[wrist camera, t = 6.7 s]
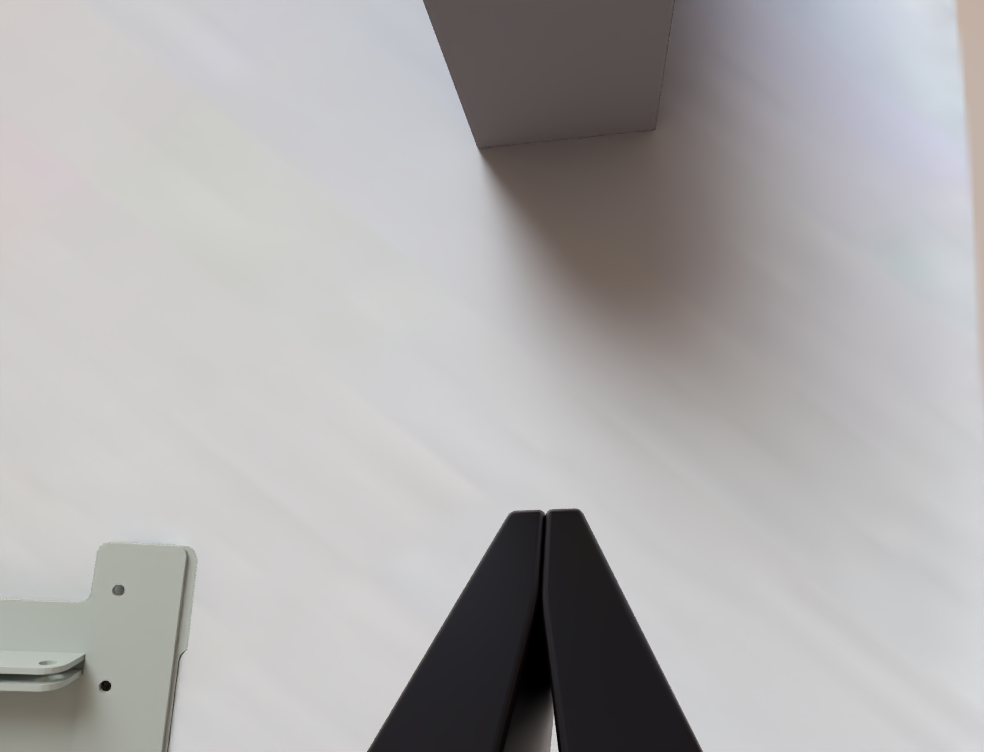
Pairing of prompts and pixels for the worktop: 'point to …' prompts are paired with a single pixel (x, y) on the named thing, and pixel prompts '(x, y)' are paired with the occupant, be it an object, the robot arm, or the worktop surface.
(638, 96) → the grey rectangular box
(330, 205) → the worktop surface
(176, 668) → the metal bracket
